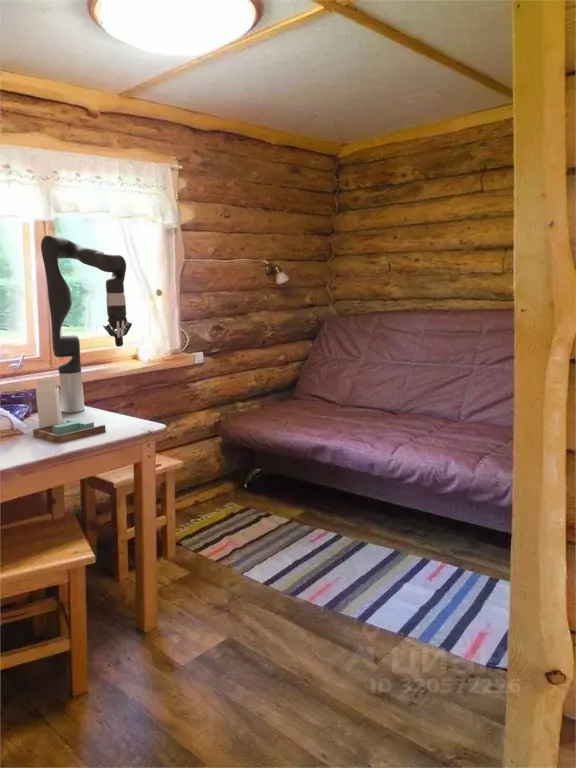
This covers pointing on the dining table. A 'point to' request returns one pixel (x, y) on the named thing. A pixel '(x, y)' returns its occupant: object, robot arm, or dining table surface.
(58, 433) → the T-block
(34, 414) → the dining table surface
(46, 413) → the milk carton
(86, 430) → the bay
